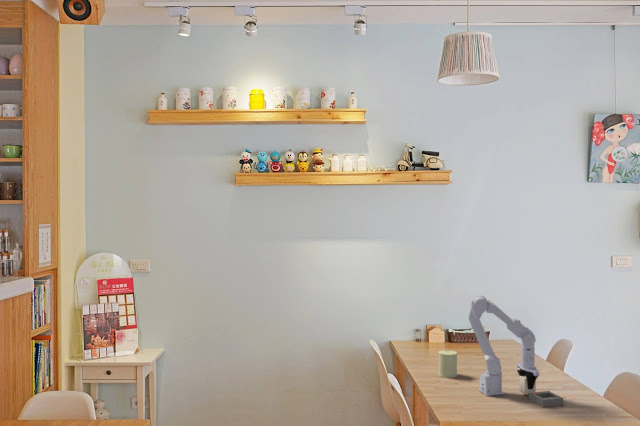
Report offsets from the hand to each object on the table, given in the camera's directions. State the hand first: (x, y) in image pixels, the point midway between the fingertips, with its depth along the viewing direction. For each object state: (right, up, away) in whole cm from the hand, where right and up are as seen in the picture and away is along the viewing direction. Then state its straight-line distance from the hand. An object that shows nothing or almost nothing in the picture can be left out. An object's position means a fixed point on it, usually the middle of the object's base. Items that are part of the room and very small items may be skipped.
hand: (527, 387), depth 269 cm
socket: (+4, -4, -10) cm, 11 cm away
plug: (0, -3, 0) cm, 3 cm away
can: (-29, -3, +31) cm, 43 cm away
